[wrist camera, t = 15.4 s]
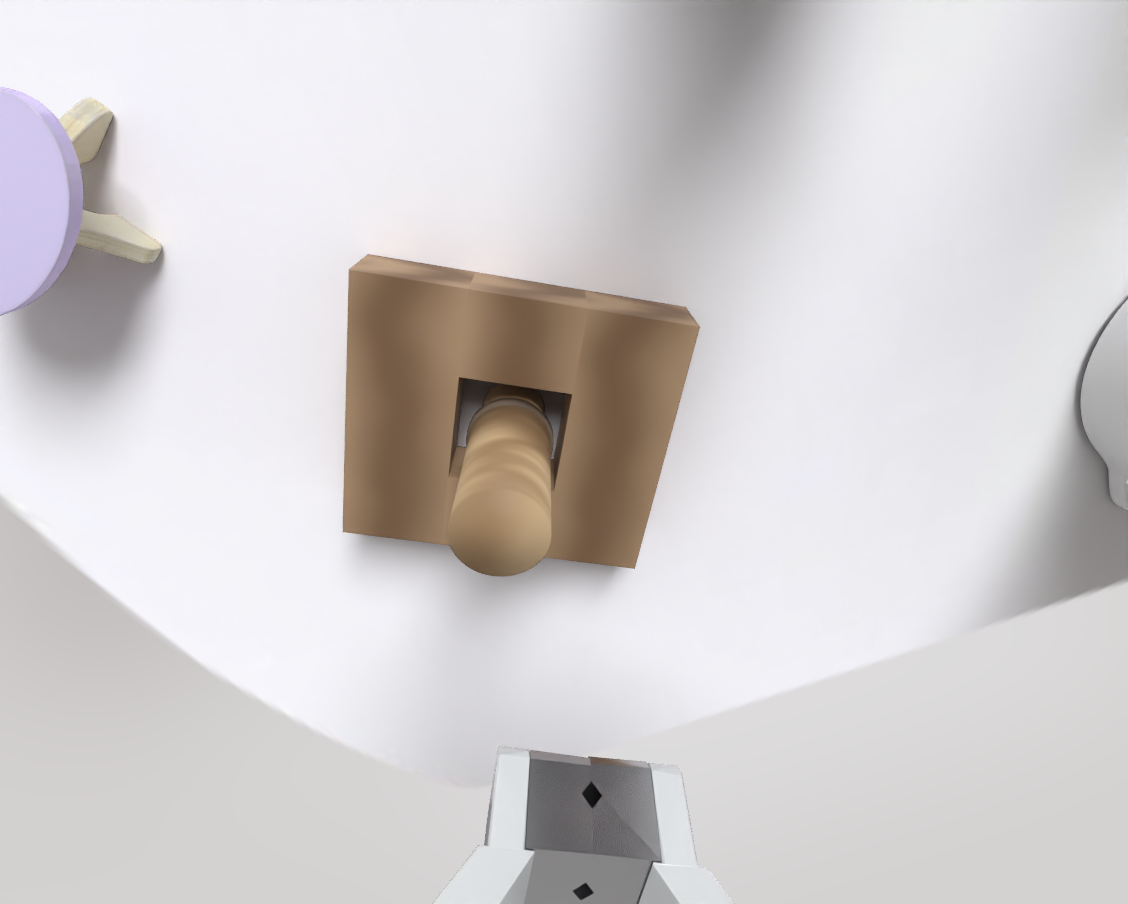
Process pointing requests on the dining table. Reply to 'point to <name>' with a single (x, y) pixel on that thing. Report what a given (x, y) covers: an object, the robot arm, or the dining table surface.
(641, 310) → the board
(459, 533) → the peg
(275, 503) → the dining table surface
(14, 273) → the toy table
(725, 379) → the dining table surface
